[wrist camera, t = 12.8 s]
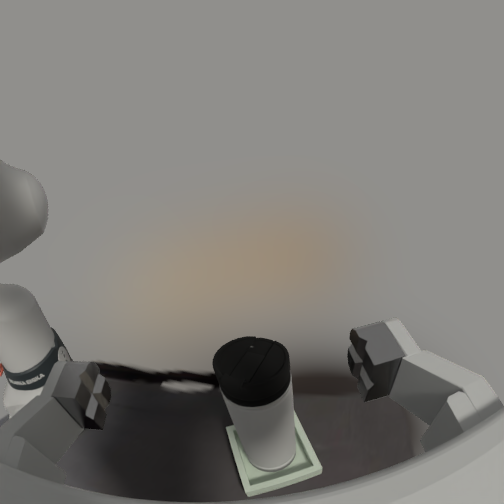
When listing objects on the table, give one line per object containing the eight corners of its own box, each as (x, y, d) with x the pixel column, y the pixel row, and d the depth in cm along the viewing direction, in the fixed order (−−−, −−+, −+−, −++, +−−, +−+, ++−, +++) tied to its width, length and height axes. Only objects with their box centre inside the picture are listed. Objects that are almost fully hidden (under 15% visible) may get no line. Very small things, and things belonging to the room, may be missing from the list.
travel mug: (238, 465, 30) (193, 373, 21) (259, 427, 35) (233, 321, 26) (283, 480, 27) (268, 397, 18) (303, 439, 32) (300, 334, 23)
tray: (248, 496, 26) (245, 492, 25) (229, 434, 35) (225, 427, 34) (321, 473, 28) (322, 468, 27) (293, 415, 37) (292, 407, 36)
